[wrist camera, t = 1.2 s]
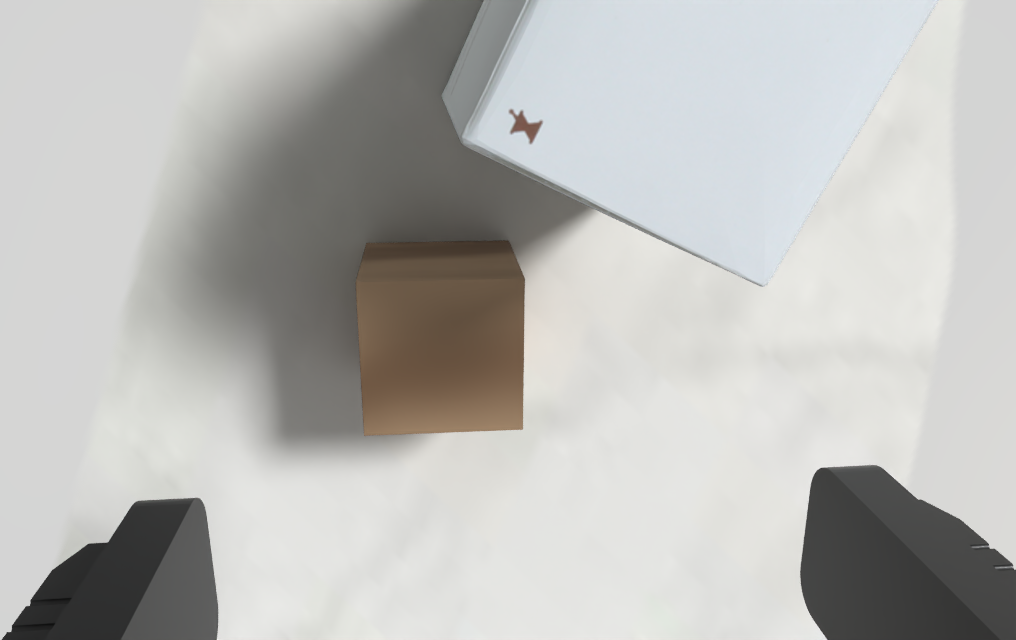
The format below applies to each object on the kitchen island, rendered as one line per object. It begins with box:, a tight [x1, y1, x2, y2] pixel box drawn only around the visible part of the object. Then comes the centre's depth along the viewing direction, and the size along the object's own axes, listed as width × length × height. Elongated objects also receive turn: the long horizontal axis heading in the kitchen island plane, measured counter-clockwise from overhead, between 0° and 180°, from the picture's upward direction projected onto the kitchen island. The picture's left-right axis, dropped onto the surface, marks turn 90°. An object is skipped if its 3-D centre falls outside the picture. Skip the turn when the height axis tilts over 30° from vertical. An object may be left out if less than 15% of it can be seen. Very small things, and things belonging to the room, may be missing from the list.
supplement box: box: [442, 0, 939, 287], centre depth 21 cm, size 7×7×13 cm
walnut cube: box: [355, 241, 525, 436], centre depth 27 cm, size 5×5×5 cm
